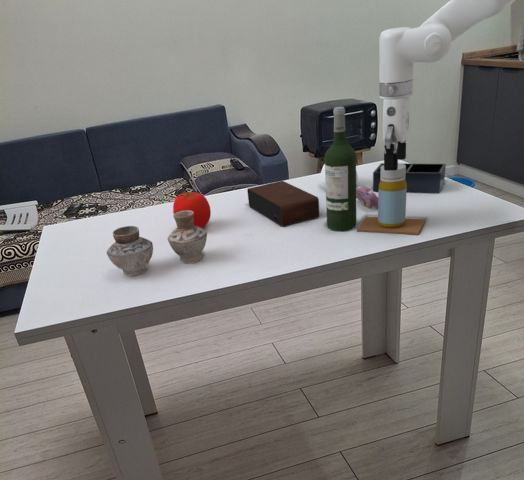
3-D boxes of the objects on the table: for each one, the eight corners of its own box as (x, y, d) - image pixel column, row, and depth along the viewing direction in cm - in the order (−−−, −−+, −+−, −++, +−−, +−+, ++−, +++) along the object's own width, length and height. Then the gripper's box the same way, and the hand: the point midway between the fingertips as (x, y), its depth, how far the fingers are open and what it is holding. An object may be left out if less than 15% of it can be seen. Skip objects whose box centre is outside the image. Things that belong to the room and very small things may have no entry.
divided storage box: (444, 183, 169) (445, 163, 166) (439, 193, 161) (440, 173, 158) (380, 181, 177) (381, 163, 173) (372, 191, 169) (373, 172, 166)
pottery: (215, 262, 134) (208, 215, 127) (115, 285, 128) (102, 237, 122) (204, 247, 143) (197, 203, 137) (111, 268, 138) (98, 223, 131)
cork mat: (425, 221, 143) (425, 219, 143) (418, 235, 136) (418, 232, 135) (366, 218, 149) (366, 216, 149) (356, 231, 142) (356, 229, 142)
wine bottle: (323, 230, 145) (318, 111, 129) (332, 220, 151) (329, 105, 134) (351, 232, 142) (349, 110, 125) (360, 222, 147) (359, 104, 131)
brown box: (319, 217, 153) (318, 197, 150) (282, 227, 150) (281, 206, 147) (282, 198, 172) (281, 180, 169) (249, 206, 168) (247, 187, 165)
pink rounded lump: (357, 207, 162) (347, 189, 158) (369, 198, 162) (360, 179, 158) (374, 216, 154) (365, 197, 150) (387, 206, 154) (378, 186, 150)
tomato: (190, 220, 162) (184, 185, 157) (219, 224, 158) (213, 187, 152) (169, 233, 155) (161, 196, 149) (198, 237, 150) (192, 199, 144)
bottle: (388, 230, 138) (389, 171, 130) (372, 223, 144) (373, 166, 136) (410, 224, 140) (413, 166, 132) (394, 217, 146) (396, 161, 138)
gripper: (404, 95, 117) (403, 174, 126) (419, 82, 130) (416, 155, 139) (370, 97, 120) (371, 174, 129) (388, 84, 133) (387, 155, 142)
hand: (395, 164), depth 134 cm, fingers open, 9 cm apart
